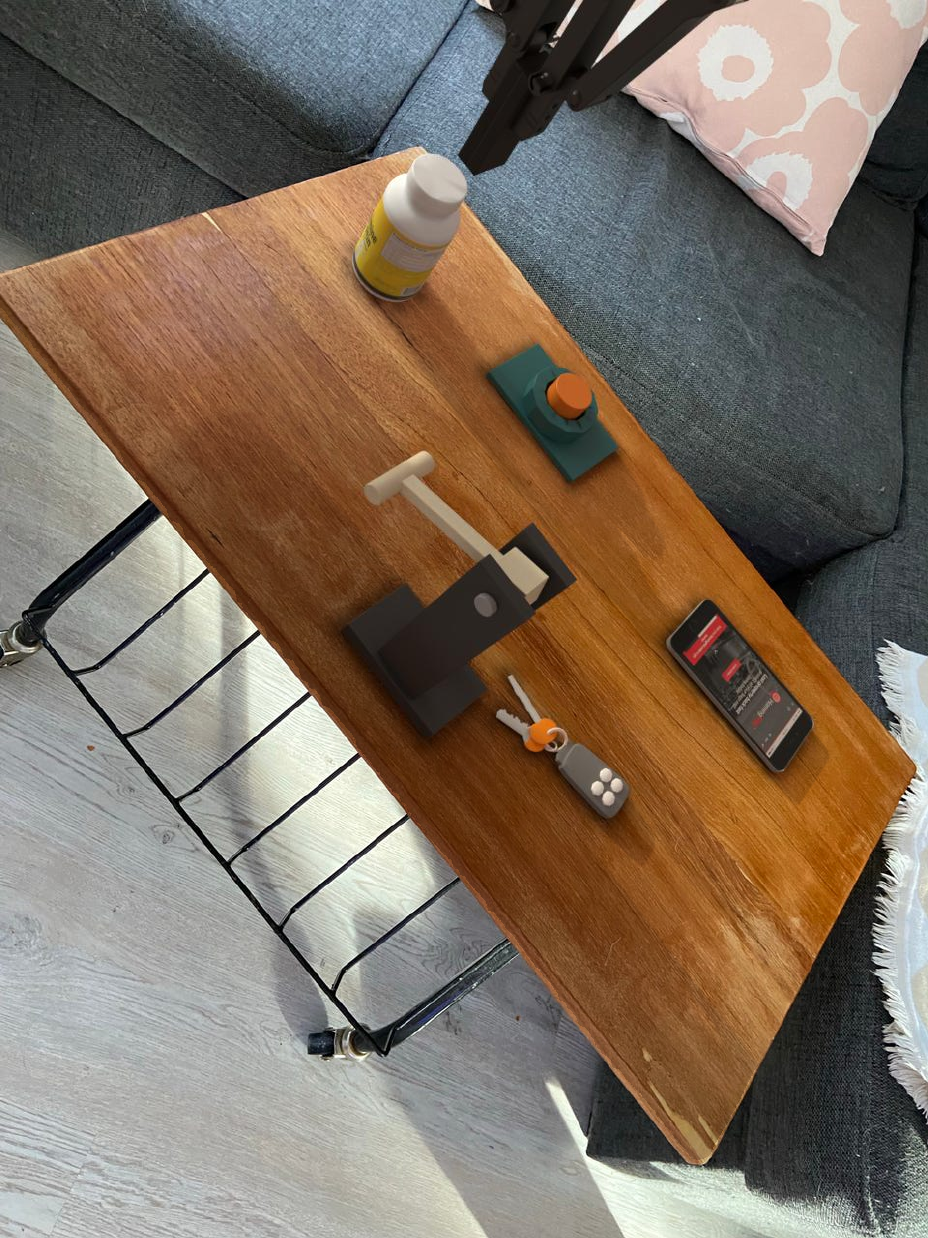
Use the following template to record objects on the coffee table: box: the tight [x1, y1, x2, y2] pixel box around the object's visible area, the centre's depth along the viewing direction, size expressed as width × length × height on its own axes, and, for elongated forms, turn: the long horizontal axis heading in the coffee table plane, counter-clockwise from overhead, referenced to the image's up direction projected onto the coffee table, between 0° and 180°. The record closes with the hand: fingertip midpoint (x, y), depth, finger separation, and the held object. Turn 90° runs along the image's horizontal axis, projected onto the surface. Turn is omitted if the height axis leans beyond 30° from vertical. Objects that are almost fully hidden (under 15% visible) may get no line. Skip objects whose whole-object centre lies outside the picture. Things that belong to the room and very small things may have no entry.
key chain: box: [495, 674, 630, 820], centre depth 75 cm, size 13×4×2 cm, turn 53°
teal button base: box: [485, 343, 620, 484], centre depth 86 cm, size 12×7×2 cm, turn 43°
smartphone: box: [666, 598, 815, 774], centre depth 85 cm, size 7×1×15 cm
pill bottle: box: [351, 153, 468, 303], centre depth 80 cm, size 6×6×12 cm
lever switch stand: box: [340, 522, 578, 741], centre depth 65 cm, size 10×6×18 cm, turn 43°
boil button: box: [547, 373, 592, 419], centre depth 85 cm, size 4×4×2 cm
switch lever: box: [363, 450, 549, 605], centre depth 60 cm, size 12×5×2 cm, turn 43°
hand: (481, 159), depth 55 cm, fingers closed
